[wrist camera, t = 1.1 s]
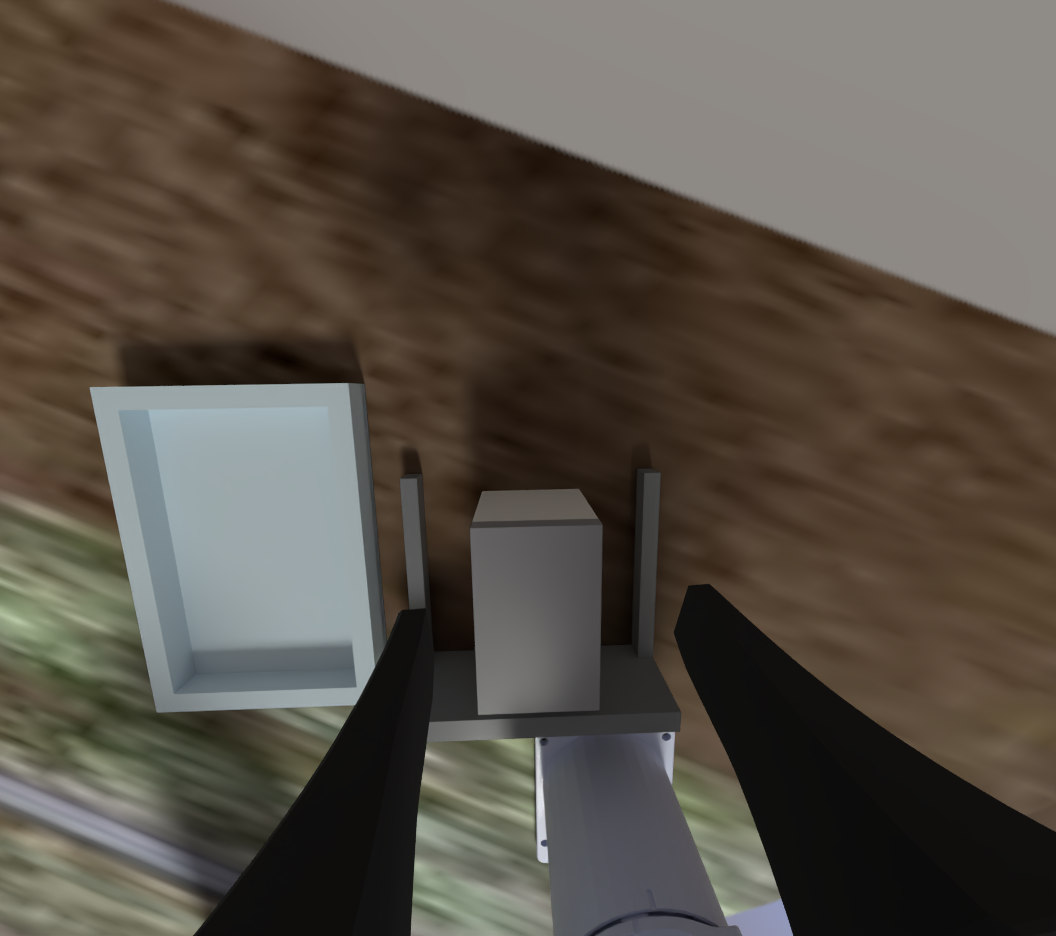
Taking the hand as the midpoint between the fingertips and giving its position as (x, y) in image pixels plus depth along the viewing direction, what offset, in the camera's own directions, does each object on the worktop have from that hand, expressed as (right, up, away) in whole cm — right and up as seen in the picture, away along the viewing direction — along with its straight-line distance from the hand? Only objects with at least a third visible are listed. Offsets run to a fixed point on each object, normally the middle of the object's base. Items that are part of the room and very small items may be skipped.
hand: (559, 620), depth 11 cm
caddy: (-1, -1, +11) cm, 11 cm away
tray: (-14, 0, +10) cm, 17 cm away
